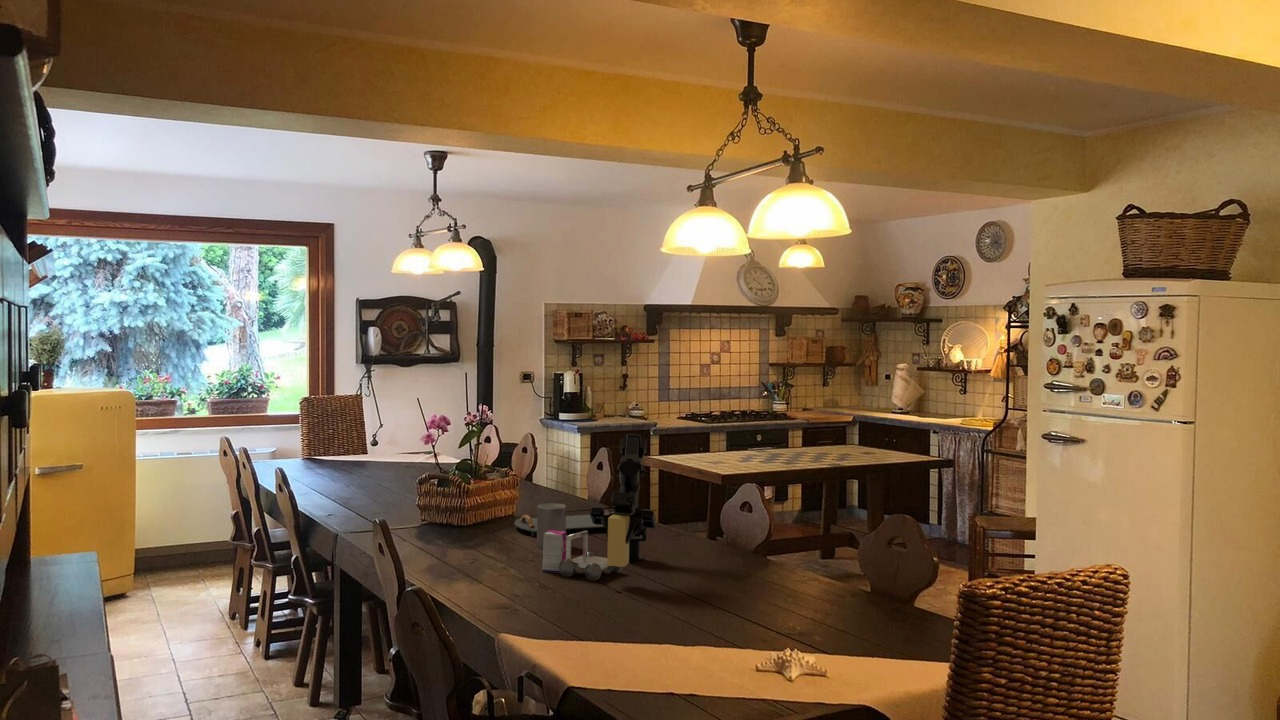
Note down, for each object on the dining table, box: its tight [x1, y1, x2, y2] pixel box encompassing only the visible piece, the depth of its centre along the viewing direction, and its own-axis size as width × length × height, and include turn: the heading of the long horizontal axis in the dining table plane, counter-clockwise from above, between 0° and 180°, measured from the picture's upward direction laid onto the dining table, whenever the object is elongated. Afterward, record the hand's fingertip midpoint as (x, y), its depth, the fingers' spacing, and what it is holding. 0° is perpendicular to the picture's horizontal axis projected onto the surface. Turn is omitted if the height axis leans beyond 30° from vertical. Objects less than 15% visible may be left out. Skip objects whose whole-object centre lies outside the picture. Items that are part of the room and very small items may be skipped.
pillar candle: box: [536, 502, 567, 550], centre depth 320 cm, size 10×10×15 cm
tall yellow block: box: [606, 515, 630, 568], centre depth 271 cm, size 5×5×14 cm
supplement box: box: [542, 530, 568, 574], centre depth 287 cm, size 6×6×12 cm
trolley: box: [559, 529, 623, 582], centre depth 283 cm, size 13×14×12 cm
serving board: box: [513, 514, 604, 538], centre depth 351 cm, size 39×23×6 cm, turn 113°
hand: (617, 542), depth 270 cm, fingers closed on tall yellow block, 5 cm apart
